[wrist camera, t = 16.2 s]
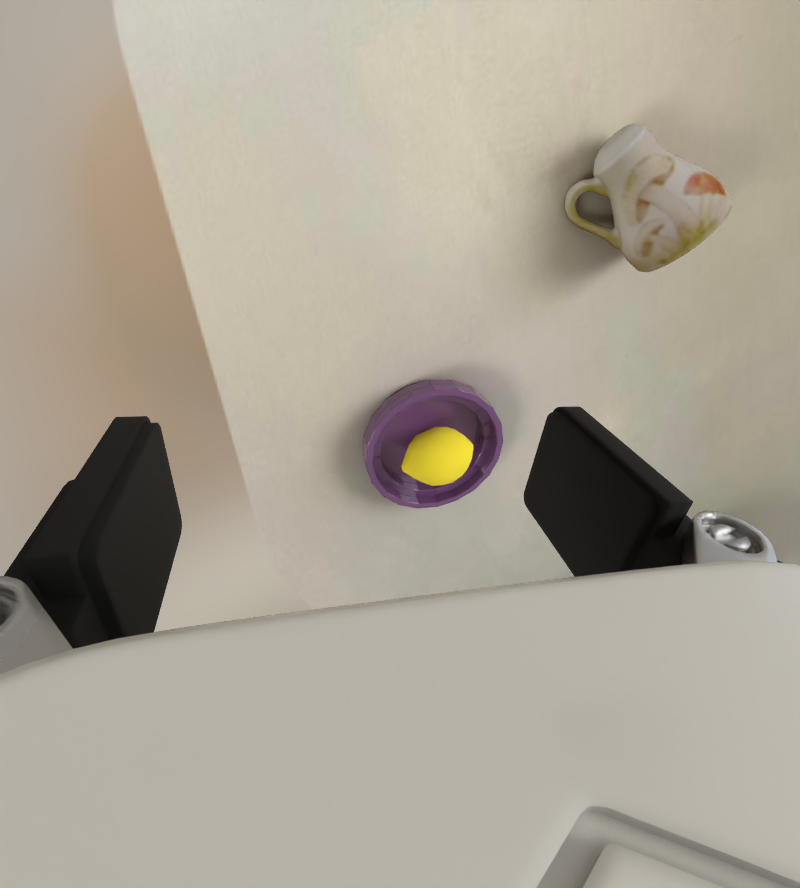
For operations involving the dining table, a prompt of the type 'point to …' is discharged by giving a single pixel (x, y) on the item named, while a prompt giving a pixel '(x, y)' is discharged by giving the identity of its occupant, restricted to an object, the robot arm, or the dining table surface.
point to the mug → (651, 199)
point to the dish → (418, 414)
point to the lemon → (438, 456)
